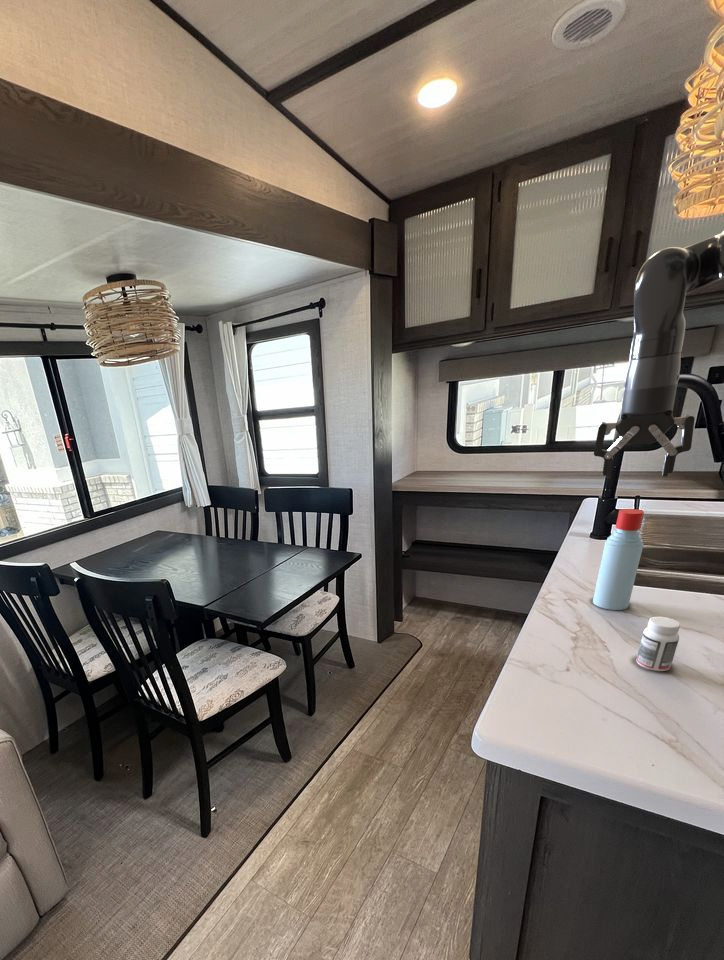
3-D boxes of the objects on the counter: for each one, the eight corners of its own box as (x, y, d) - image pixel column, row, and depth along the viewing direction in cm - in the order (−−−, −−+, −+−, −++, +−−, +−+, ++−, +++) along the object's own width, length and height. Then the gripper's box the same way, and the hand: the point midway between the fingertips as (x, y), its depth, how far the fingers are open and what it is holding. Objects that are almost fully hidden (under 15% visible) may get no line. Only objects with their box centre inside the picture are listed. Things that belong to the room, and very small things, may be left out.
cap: (639, 526, 96) (643, 509, 94) (640, 531, 93) (644, 514, 91) (615, 524, 98) (619, 508, 96) (615, 529, 95) (619, 513, 93)
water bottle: (627, 600, 103) (650, 510, 95) (628, 612, 98) (652, 518, 90) (593, 596, 106) (611, 508, 98) (592, 607, 101) (611, 516, 93)
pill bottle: (666, 659, 81) (679, 617, 78) (673, 674, 78) (687, 630, 74) (633, 655, 83) (644, 613, 80) (638, 669, 80) (650, 626, 76)
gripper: (700, 377, 81) (682, 471, 88) (601, 388, 89) (591, 474, 96) (707, 379, 76) (686, 479, 82) (601, 391, 84) (590, 482, 90)
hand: (635, 476), depth 89 cm, fingers open, 8 cm apart
